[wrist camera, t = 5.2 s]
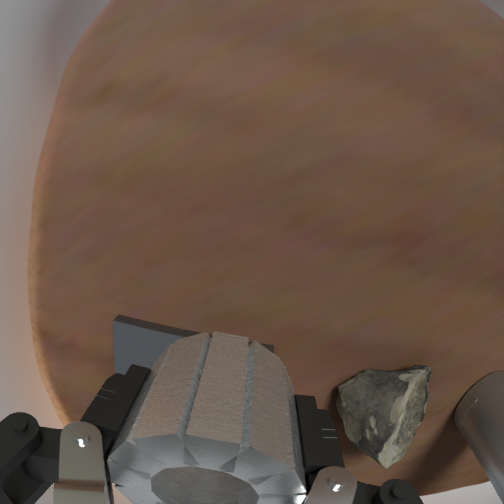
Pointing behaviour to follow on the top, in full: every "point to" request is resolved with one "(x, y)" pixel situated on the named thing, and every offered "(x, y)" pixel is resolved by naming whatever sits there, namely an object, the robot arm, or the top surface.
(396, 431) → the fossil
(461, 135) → the top surface
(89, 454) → the robot arm
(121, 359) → the carrier
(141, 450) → the planet gear
